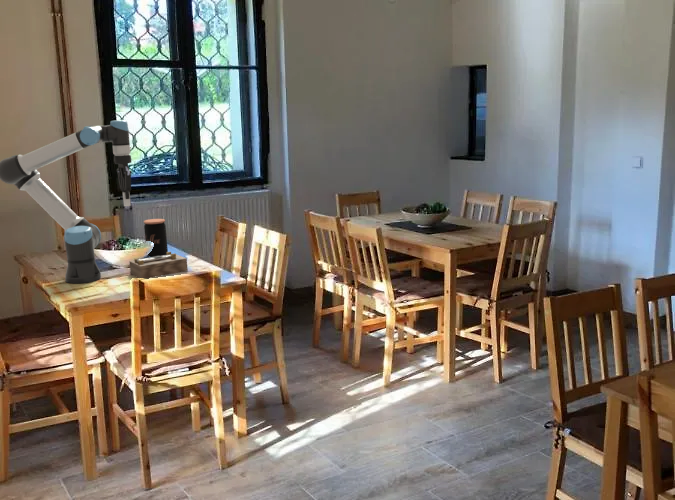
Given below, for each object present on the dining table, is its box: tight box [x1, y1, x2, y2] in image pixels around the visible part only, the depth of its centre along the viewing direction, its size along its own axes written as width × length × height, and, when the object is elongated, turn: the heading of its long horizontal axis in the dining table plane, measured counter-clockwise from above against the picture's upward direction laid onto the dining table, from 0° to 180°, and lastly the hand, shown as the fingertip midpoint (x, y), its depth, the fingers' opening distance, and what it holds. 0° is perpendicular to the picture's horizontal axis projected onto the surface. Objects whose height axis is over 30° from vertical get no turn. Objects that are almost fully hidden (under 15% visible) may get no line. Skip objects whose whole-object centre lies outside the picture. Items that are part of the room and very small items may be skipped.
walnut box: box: [129, 251, 188, 279], centre depth 328 cm, size 22×14×8 cm, turn 126°
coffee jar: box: [143, 218, 169, 258], centre depth 364 cm, size 11×11×18 cm
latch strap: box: [136, 253, 172, 262], centre depth 326 cm, size 17×3×2 cm, turn 126°
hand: (127, 205), depth 329 cm, fingers closed
